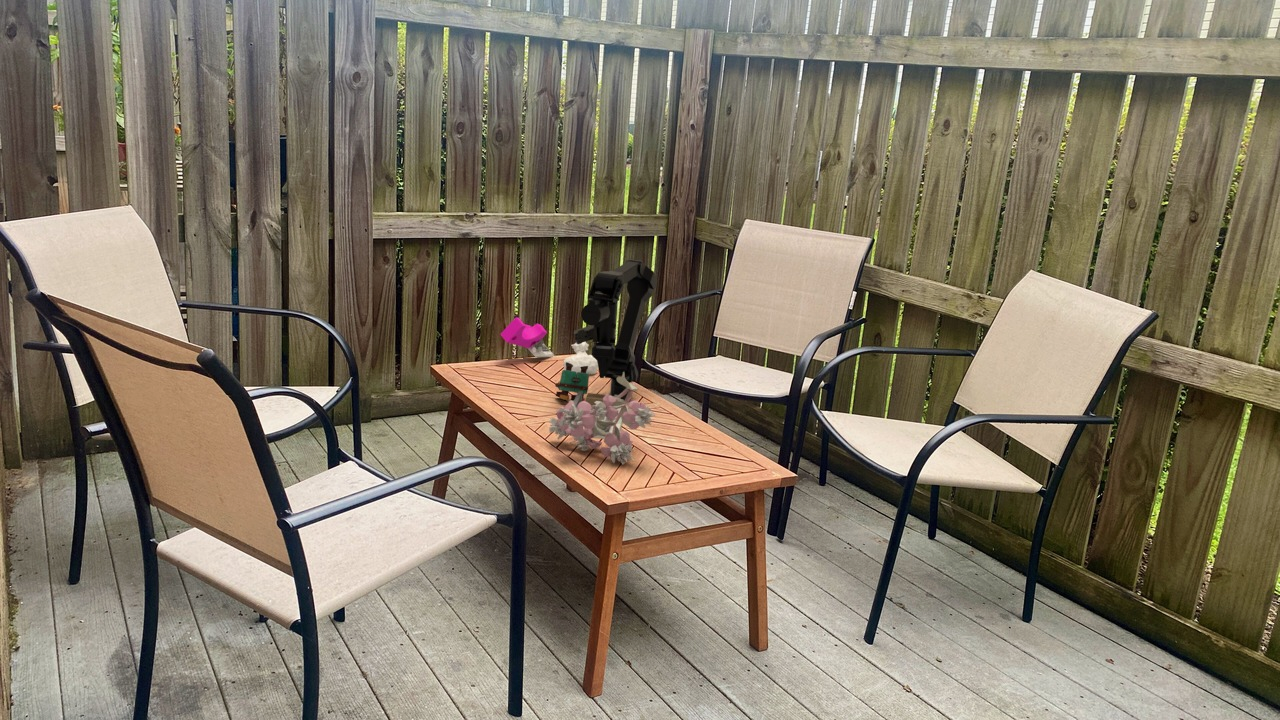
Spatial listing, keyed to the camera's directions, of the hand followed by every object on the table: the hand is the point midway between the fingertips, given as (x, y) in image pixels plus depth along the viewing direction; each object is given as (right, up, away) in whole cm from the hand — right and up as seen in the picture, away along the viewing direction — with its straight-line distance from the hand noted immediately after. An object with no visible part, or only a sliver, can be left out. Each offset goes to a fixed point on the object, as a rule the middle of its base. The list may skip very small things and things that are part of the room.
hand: (602, 373), depth 272 cm
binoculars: (-11, -3, +12) cm, 17 cm away
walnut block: (-2, -10, -4) cm, 11 cm away
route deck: (-2, -13, -9) cm, 16 cm away
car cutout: (-23, +7, +50) cm, 55 cm away
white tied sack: (-8, -2, +37) cm, 38 cm away
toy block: (-30, +10, +39) cm, 50 cm away
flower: (+13, -4, -30) cm, 33 cm away
